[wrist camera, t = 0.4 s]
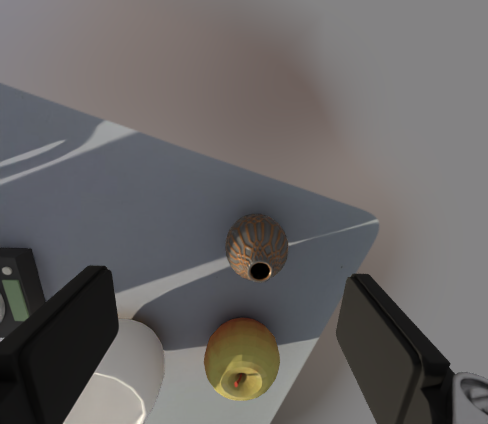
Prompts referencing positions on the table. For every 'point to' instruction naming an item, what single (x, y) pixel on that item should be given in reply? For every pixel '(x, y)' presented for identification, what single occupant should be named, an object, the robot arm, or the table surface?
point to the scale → (18, 288)
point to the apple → (241, 359)
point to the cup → (123, 379)
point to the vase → (256, 247)
